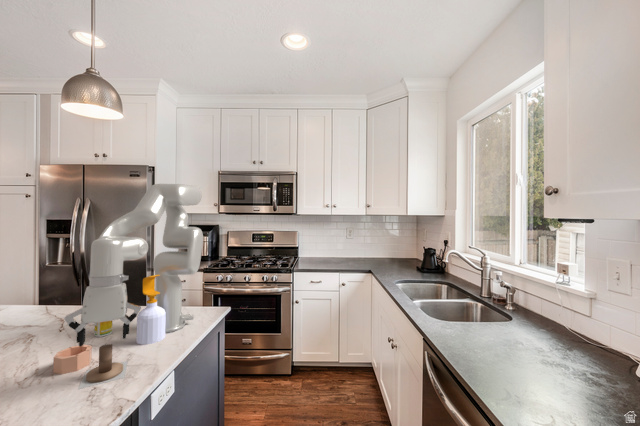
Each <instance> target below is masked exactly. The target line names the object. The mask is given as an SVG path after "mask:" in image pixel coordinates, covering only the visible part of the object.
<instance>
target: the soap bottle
mask: <svg viewBox="0 0 640 426" xmlns="http://www.w3.org/2000/svg"><path fill="white" fill-rule="evenodd" d="M157 276H160V275H149V276H146V277H143V279H142V294H143V295H144V296H147V298H148V300H146V307H144V308H143V309H141V310H140V311H139V313H138V314H137V316H136V344H137V345H141V346H143V345H144V346H145V345H152V344H155V343H158V342H161V341H163V340H164V339H165V338H166V333H165V323H166V312H165V310H164V309H163V308H162V307H159V306H157V300H156V295H157V294H160V292H157V291H156V277H157Z"/></svg>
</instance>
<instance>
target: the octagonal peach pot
mask: <svg viewBox="0 0 640 426" xmlns="http://www.w3.org/2000/svg"><path fill="white" fill-rule="evenodd" d="M92 348H93V346H92V345H88V344H83V345H82V346H80V347H79V345H74V346H70V347H67V348H64V349H61V350H60V351H57V352H56V353H55V355H54V356H53V370H52V372H53V374H58V375H64V374H65V375H66V374H69V373H70V374H71V373H74V372H78V371H79V370H82V369H84V368H86V367H87V366H90V364H91V361H92Z"/></svg>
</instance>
